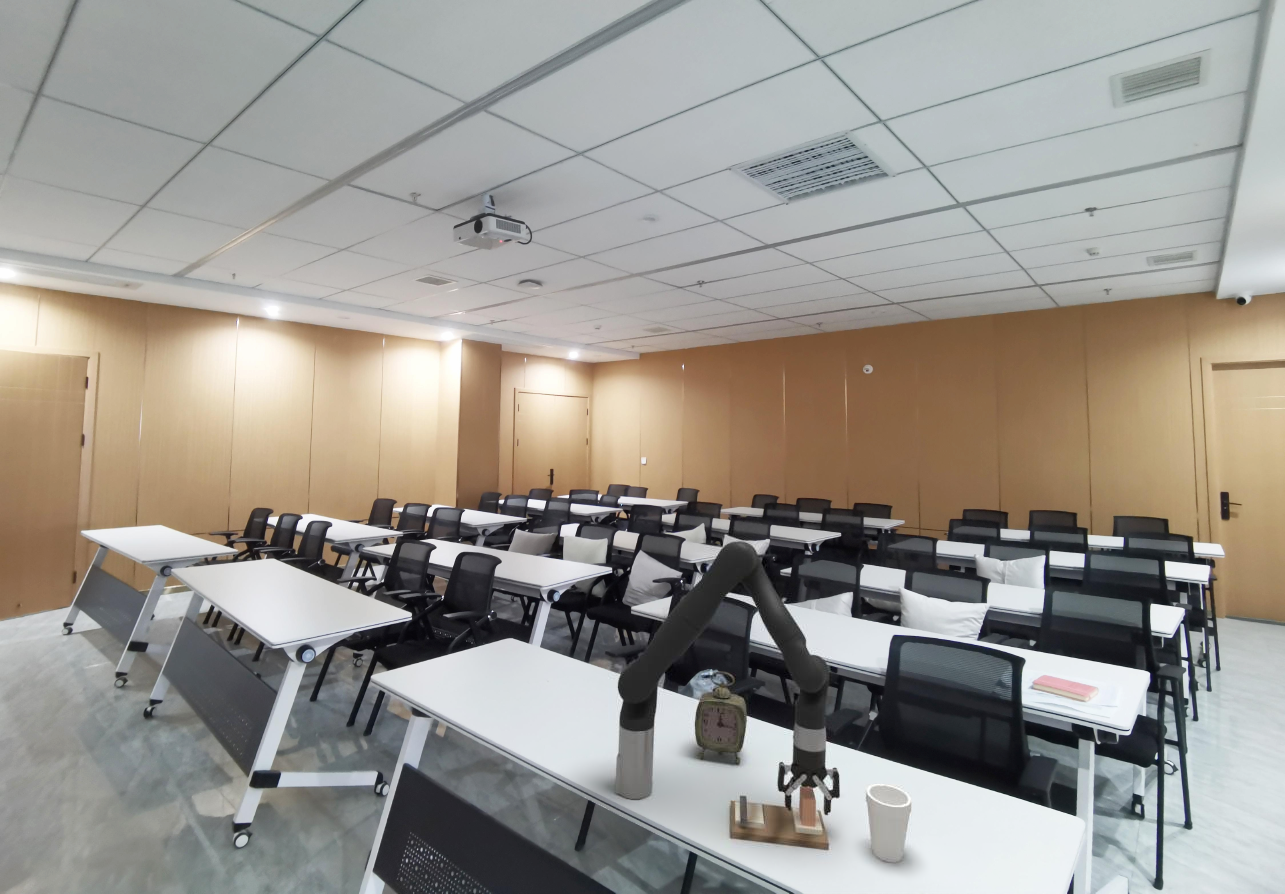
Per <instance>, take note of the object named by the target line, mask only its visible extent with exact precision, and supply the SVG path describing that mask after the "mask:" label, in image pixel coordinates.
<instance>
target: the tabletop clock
mask: <svg viewBox="0 0 1285 894" xmlns="http://www.w3.org/2000/svg"><path fill="white" fill-rule="evenodd" d="M716 675H725V676H728V677H730V678H731V679H732V682H731V683H726V684H725V681H723V680H721V681H720V683H718V682H717V681H715V680H713V677H714V676H716ZM710 681H711V682H712V683H713V684H714V685H716V686H717V687H716V688H715V689H714V691H706V692H703V693H702V694H701V696H700V699H699V701H698V704H697V707H696V711H695V715H694V716H695V717H694V736H695V741H696V744H697V746H699V747H701V749H702V750H701V751H699V752H698V754H697V755H698V757H699V758H700V759H703V758H704V757H705V754H704V752H705V751H706V750H709V751H713V752H716V753H719V754H720V755H721V754H722V755H723V754H725V753H726V754H728V753H729V754H734V757H735V760H734V762H735V764H737V765H738V764H741V758H740V757H738V753H740V752H741V751H742V749H743V747H744V742H745V737H746V731H747V723H748V722H747V721H748V720H747V719H748V716H747V713H748V712H747V704H746V701H745V699H744V697H742V696H740V695H738V694H734V693H731V691H730V689H729V688H728V687H731V686H733V684H735V678H734V676H733V675H732V674H731V673H729V672H727V671H715V672H714V673H712V675H710Z"/></svg>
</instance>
